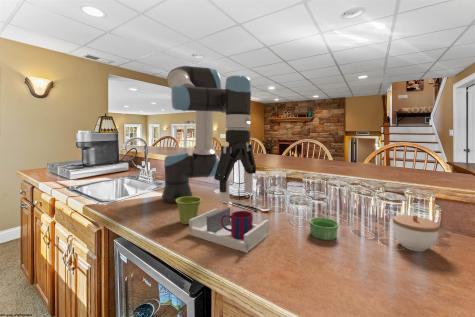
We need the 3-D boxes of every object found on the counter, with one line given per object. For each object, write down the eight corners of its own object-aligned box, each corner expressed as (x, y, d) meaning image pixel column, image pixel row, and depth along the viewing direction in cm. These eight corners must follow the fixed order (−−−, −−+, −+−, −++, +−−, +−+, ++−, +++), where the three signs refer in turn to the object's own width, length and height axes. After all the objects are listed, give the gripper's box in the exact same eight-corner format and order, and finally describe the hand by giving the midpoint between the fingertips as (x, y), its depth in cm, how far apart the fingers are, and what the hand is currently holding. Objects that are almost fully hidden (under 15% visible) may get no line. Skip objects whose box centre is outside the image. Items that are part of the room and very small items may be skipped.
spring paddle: (206, 233, 74) (206, 216, 73) (227, 222, 83) (227, 207, 82) (209, 234, 73) (209, 217, 72) (230, 223, 82) (230, 207, 82)
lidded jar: (447, 255, 63) (450, 221, 62) (410, 256, 62) (413, 223, 61) (414, 237, 74) (416, 209, 73) (382, 238, 73) (384, 210, 72)
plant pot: (192, 215, 94) (192, 194, 93) (206, 222, 87) (206, 199, 86) (171, 221, 87) (170, 199, 86) (185, 229, 80) (184, 204, 80)
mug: (250, 241, 69) (250, 218, 68) (218, 237, 72) (218, 215, 71) (254, 231, 76) (254, 211, 75) (225, 228, 78) (225, 209, 78)
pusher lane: (189, 234, 76) (188, 219, 76) (215, 221, 88) (215, 208, 87) (246, 253, 64) (246, 235, 64) (268, 234, 76) (268, 220, 75)
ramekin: (305, 229, 81) (306, 217, 80) (331, 229, 80) (332, 217, 80) (313, 241, 72) (314, 227, 71) (342, 241, 71) (343, 227, 71)
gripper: (223, 129, 58) (223, 210, 61) (267, 129, 79) (265, 190, 81) (201, 129, 62) (201, 205, 65) (248, 129, 83) (247, 187, 86)
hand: (237, 197), depth 73 cm, fingers open, 13 cm apart
